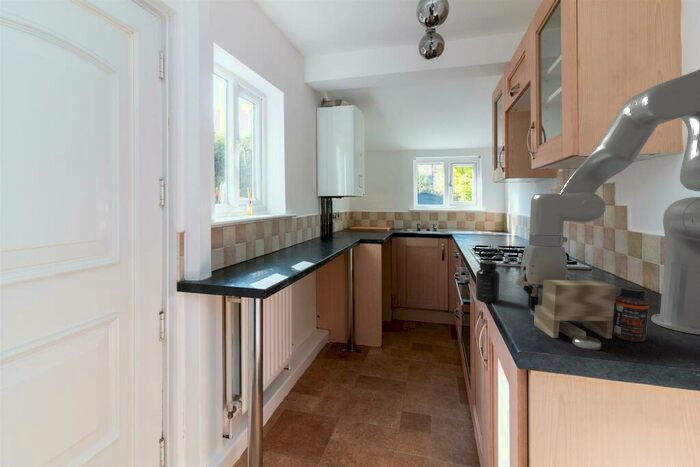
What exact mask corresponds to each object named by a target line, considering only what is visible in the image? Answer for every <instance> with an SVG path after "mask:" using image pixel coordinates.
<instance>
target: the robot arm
mask: <svg viewBox="0 0 700 467" xmlns="http://www.w3.org/2000/svg"><path fill="white" fill-rule="evenodd" d="M676 119H681V120H682V121H683V123H684V124H685V126H686V128H687V138H686V140H687V142H686V145H685V146H686V147H685V150H684V155H683V158H682V163H681V168H680V174H679V181H680V183H681V185H682V186H683V187H684V188H686V190H689V191H694V192H700V69H697V70H694V71H691V72H689V73H686V74H684V75H680V76H677V77H675V78H672V79H669V80H666V81H664V82H661V83H659V84H656V85H654V86H651V87H649V88H647V89H645V90H643V91H642V92H640V93H637V94H636V95H634V96H632V97H631V98H629V99H628V100H627V101H626V102H624V104H623V105H622V106H621V108H620V109H619V110H618V112H617V115H616V116H615V117H614V119H613V120H612V122H611V123H610V125H609V126H608V128H607V130H606V131H605V133H603V134H604V135H603V136H602V138H601V139H600V140H599V142H598V144H597V145H596V147H595V148H594V149H593V151H592V152H591V153H590V154H589V155H588V156H587V158H585V160H584V161H583V162H582V163H581V164H580V166H578V168H577V169H576V170H575V171H573V172H574V173H572V175H571V176H570V178H568V180H567V181H566V182H565V184H564V186H563V188H562V189H561V191H560V192H559V193H536V194H533V195H532V197H531V200H530V214H529V216H530V217H529V239H528V245H525V247H524V250H523V254H522V258H521V263H520V264H521V265H520V272H519V273H520V275H519V277H518V278H517V280H515V285H517V286H518V287H520V288H521V289H523V291H524V292H526V294H527V295H528V297H527V307H528V308H529V310H530V309H531V310H532V311H534V312H535V305H538V297H537V296H536V293H537V289H538V285H543V280H570V279H569V277H568V266H567V265H568V263H567V262H568V260H567V254H566V248H565V247H564V246H563V245H564V243H567V241H568V238H567V237H566V236H564V223H565V221H566V222H574V223H581V224H583V223H584V224H587V223H592V222H595V221H597V220H599V219H600V218H601V217H602V216H603V215H604V213H605V211H606V206H607V205H606V202H605V201H604V199H603V198H602V197H601V196H600V195H599V194H596V192H597V191H598V189H599V188H600V187H602V185H604V184H605V183H606V182H607V181H608V180H609V179H611V178H613V177H615V176H616V175H618V174H620V173H621V172H623V171H624V170H625V169H627V168H628V167H629V166H631V165H632V164H633V163H634V161H636V159H637V157H638V155H639V154H640V153H641V150H643V149H644V146H645V145H646V143H647V142H648V140H649V139H650V138H651V136H652V134H653V133H654V131H656V128H657V127H658V126H659V125H661V124H665V123H667V122H670V121H673V120H676ZM662 218H663V219H662V225H663V231H664V239H665V252H664V264H663V276H662V286H661V298H660V310H659V311H660V312H659V313H655V314H653V315H651V317H650V318H651V322H652V323H654V324H656V325H658V326H660V327H663V328H666V329H668V330H673V331H676V332H681V333H687V334H692V335H699V336H700V196H693V197H685V198H682V199H681V198H680V199H679V200H676V201H674V202H673V203H671V204H670V205H669V206H668V207H667V208H666V210H665V211H664V213H663V217H662ZM526 282H527V284H525V283H526Z"/></svg>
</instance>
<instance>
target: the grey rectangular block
mask: <svg viewBox="0 0 700 467" xmlns="http://www.w3.org/2000/svg"><path fill="white" fill-rule="evenodd" d="M536 296H537V297H538V305H542V296H543V285H538V289H537V293H536ZM529 310H530V311H529V313H530V315H532V316H533V317H534V316H535V312H534V311H532V310H531V309H529ZM559 333H562V334H564V335H565V336H567V337H569V338H570V339H572V338H573V336H576V335H582V336H587V332H586V331H585V330H583V329H581V328H579V327H578V326H576V325H574V324H572V323H570V322H569V321H564V320H559Z"/></svg>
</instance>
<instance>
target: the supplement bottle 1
mask: <svg viewBox="0 0 700 467" xmlns="http://www.w3.org/2000/svg"><path fill="white" fill-rule="evenodd" d="M497 265H498V264H497V262H496V261H490V260H488V261H487V260H483V261H480V262H479V270H477V271H476V274H475V275H476V276H475V280H476V281H475V300H476V301H478V302H480V303H487V304H493V303H498V302H499V301H500V281H501V274H500V272H499V271H497V270H498V268H497Z"/></svg>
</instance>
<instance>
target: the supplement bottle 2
mask: <svg viewBox="0 0 700 467" xmlns="http://www.w3.org/2000/svg"><path fill="white" fill-rule="evenodd" d="M620 289H621V290H620V294H619V295H617V296H616V297H615V299H614V313H613V327H612V336H614V337H616V338H618V339H621V340H624V341H629V342H637V343H641V342H645V340H646V339H647V333H648V332H647V331H648V322H649V313H650V312H649V311H650V310H649V309H650V303H649V300H648V299H645V297H644V296H645V290H644V289H643V288H640V287H636V286H635V287H634V286H621V288H620Z"/></svg>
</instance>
